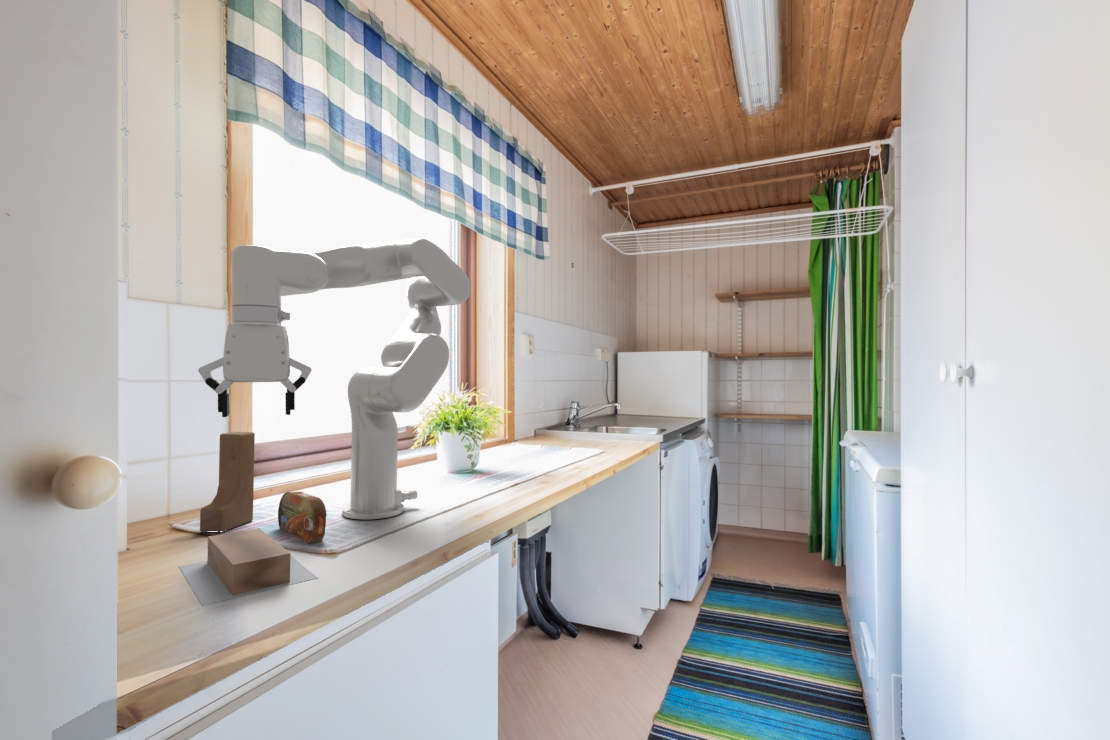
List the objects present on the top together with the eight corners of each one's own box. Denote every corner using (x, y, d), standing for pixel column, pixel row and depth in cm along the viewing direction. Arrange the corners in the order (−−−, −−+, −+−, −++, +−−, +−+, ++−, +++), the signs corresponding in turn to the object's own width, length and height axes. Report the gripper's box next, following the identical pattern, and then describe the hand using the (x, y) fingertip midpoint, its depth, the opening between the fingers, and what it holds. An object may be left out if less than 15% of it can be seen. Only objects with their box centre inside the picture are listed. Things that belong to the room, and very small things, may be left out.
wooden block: (220, 533, 99) (223, 436, 100) (198, 532, 100) (201, 436, 100) (253, 520, 108) (255, 432, 108) (233, 519, 109) (235, 431, 109)
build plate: (279, 553, 89) (279, 547, 89) (318, 585, 76) (318, 577, 76) (178, 573, 80) (178, 566, 80) (202, 613, 67) (202, 605, 67)
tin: (275, 533, 100) (276, 488, 100) (293, 530, 103) (294, 486, 103) (310, 552, 90) (311, 502, 90) (329, 548, 92) (330, 499, 93)
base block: (258, 553, 86) (258, 528, 86) (289, 582, 74) (290, 553, 74) (207, 562, 81) (208, 536, 81) (232, 595, 70) (233, 564, 70)
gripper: (310, 321, 101) (311, 411, 101) (202, 317, 93) (202, 415, 94) (311, 318, 94) (311, 415, 94) (194, 314, 87) (195, 419, 87)
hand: (257, 415), depth 94 cm, fingers open, 9 cm apart
